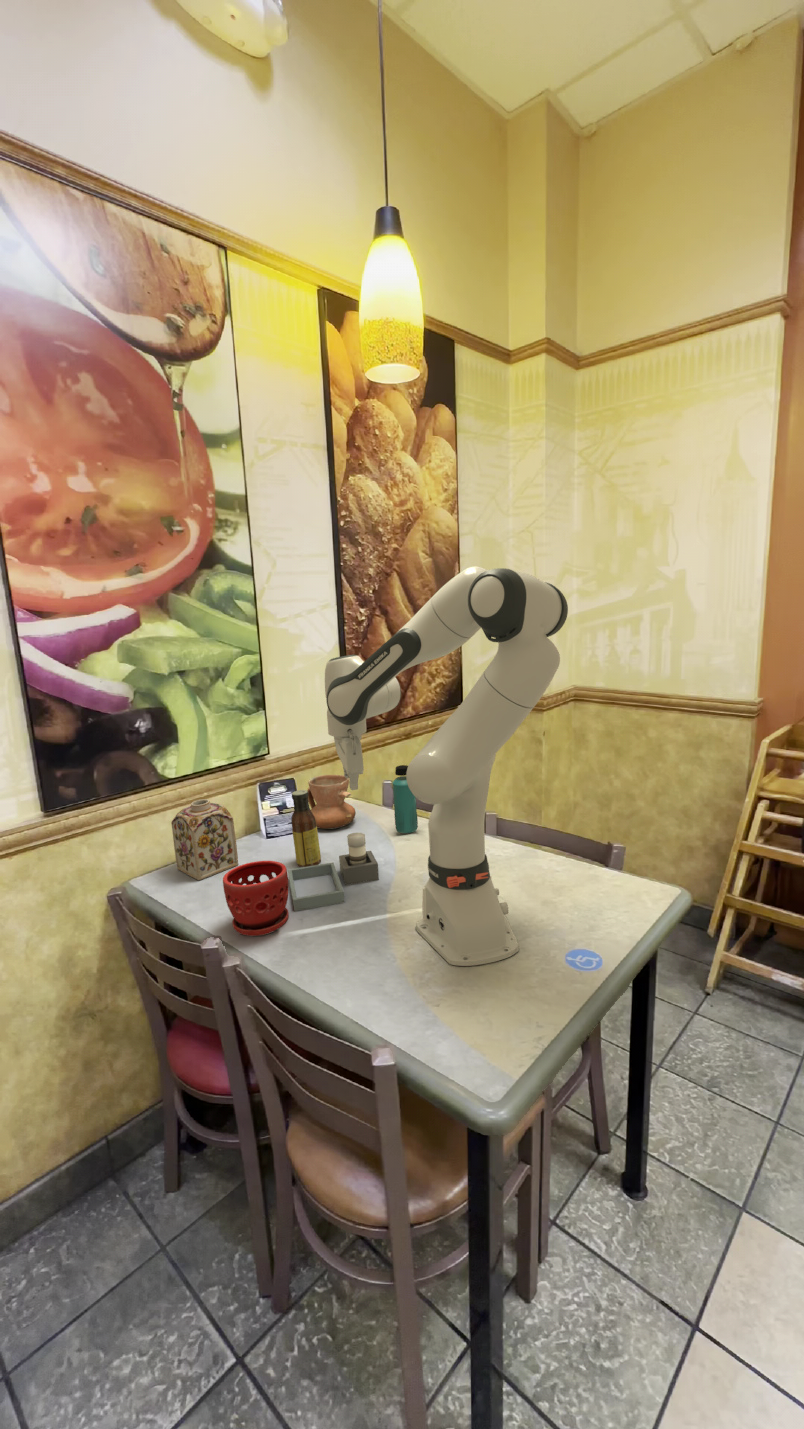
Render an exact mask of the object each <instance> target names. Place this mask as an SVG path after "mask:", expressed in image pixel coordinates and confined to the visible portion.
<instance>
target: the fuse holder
mask: <svg viewBox="0 0 804 1429" xmlns="http://www.w3.org/2000/svg"><path fill="white" fill-rule="evenodd" d="M338 858H339V859H338V861H339V871H340V874H341V877H342V880H343V883H344V884H345V885H344V886H348V885H349V886H350V885H354V884H361V883H368V882H372V881H379V880H380V877H379V862H378V861H377V859H376V858H375V856H374V854H373V852H372V850H367V851H366V861H367V863H365V864H358V865H352V866H350V859H349V853H348V854H346V853H345V854H342V855H341V854H339V855H338Z"/></svg>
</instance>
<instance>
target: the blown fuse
mask: <svg viewBox="0 0 804 1429" xmlns="http://www.w3.org/2000/svg"><path fill="white" fill-rule="evenodd" d="M366 842H367V841H366V834H365V833H362V832H352V833H350V834H348V835H347V846H348V854H349V859H350V866H352V865H358V864H365V863H367V861H366Z"/></svg>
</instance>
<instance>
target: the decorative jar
mask: <svg viewBox="0 0 804 1429" xmlns="http://www.w3.org/2000/svg"><path fill="white" fill-rule="evenodd" d="M170 822H171V830H172V838H173V848H174V849H173V850H174V854H175V855H174V856H175V862H176V866H177V870H179V871H180V872H182V873H184V874H186V875H188V876H189V877H191V878H193V879H195V880H196V881H202V880H204V879H207V878H209V877H211V876H214V875H217V874H219V873H222V872H224V871H226V870H231V869H233V868H236V867H238V866H239V854H238V846H237V845H238V844H237V839H236V838H237V837H236V831H235V823H234V822H235V821H234V817H233V816H232V815H231V813H230V811H229V810H228V809H227V807H226V806H225V805H223V804H222V803H221V804H220V803H217V802H210V800H209V799H208V798H207V799H203V798H202V799H197V800H194V801H192V802H191V803H190V805H189V806H186V807H183V808H182V809H180V811H179V812H177V813H176V814H175V817H174V818H173V819H172V820H171V821H170Z"/></svg>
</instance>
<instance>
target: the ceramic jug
mask: <svg viewBox="0 0 804 1429" xmlns="http://www.w3.org/2000/svg"><path fill="white" fill-rule="evenodd" d="M307 782H308V783H307V784H308V788H307V790H306V791H308V795H309V796H308V802H309V807H310V810H311V812H312V814H313V815H314V817H315V820H316V824H317V829H323V830H333V829H339V828H342V827H344V826H347V825H348V824H350V823H352V822H353V821H354V819H355V817H356V814H357V813H356V809H355V807H354V806H352V805H351V804H349V803H348V802H346V801H345V800H346V798H347V799H348V798H349V797H350V796H351V795H352V793H351V792H349V791H348V789H349V786H350V785H349V778H345V776H344V774H323V775H322V774H321V775H317V776H314V777H311V778H310V779H309V780H308V781H307Z"/></svg>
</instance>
